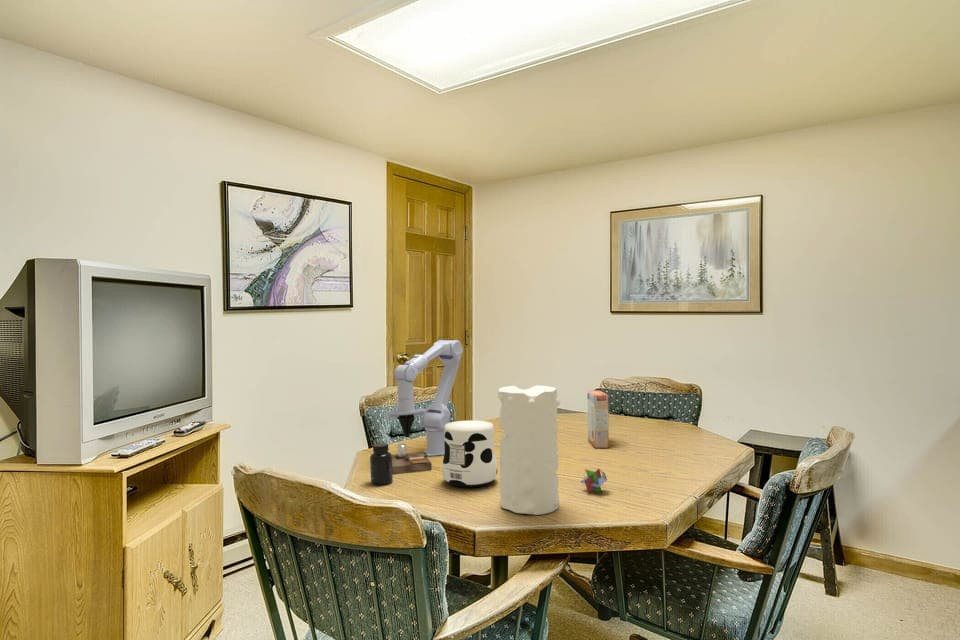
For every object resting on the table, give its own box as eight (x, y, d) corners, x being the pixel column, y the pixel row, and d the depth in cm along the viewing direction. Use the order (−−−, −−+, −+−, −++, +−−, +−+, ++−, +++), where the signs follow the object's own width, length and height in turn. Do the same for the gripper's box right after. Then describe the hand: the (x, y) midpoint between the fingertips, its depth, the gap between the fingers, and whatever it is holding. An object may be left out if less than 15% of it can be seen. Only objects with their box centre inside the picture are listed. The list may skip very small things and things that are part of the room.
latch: (423, 458, 188) (423, 454, 188) (427, 462, 182) (427, 457, 182) (409, 460, 186) (409, 456, 186) (412, 463, 181) (412, 459, 181)
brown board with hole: (421, 458, 198) (421, 448, 198) (431, 470, 183) (431, 459, 183) (383, 462, 193) (383, 452, 193) (390, 474, 178) (390, 463, 178)
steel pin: (404, 462, 193) (404, 443, 193) (407, 464, 190) (407, 444, 190) (396, 463, 191) (396, 444, 191) (399, 465, 189) (399, 445, 189)
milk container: (491, 473, 178) (490, 418, 178) (502, 489, 161) (501, 429, 161) (439, 476, 175) (438, 421, 175) (445, 493, 158) (444, 432, 158)
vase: (567, 515, 138) (564, 391, 138) (504, 518, 137) (502, 393, 137) (552, 494, 155) (550, 383, 155) (496, 496, 154) (495, 385, 154)
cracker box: (609, 448, 208) (609, 394, 208) (594, 448, 209) (593, 394, 209) (602, 440, 222) (601, 389, 222) (587, 440, 223) (586, 390, 223)
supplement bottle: (384, 478, 174) (383, 441, 174) (396, 482, 169) (396, 444, 169) (366, 483, 169) (365, 444, 169) (378, 487, 164) (377, 448, 164)
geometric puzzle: (590, 490, 151) (601, 465, 154) (572, 485, 157) (583, 460, 159) (604, 502, 155) (614, 476, 157) (586, 495, 160) (596, 471, 163)
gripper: (421, 395, 200) (422, 432, 200) (383, 398, 194) (384, 436, 194) (427, 398, 193) (428, 435, 193) (387, 401, 188) (388, 440, 188)
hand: (406, 436), depth 193 cm, fingers closed
